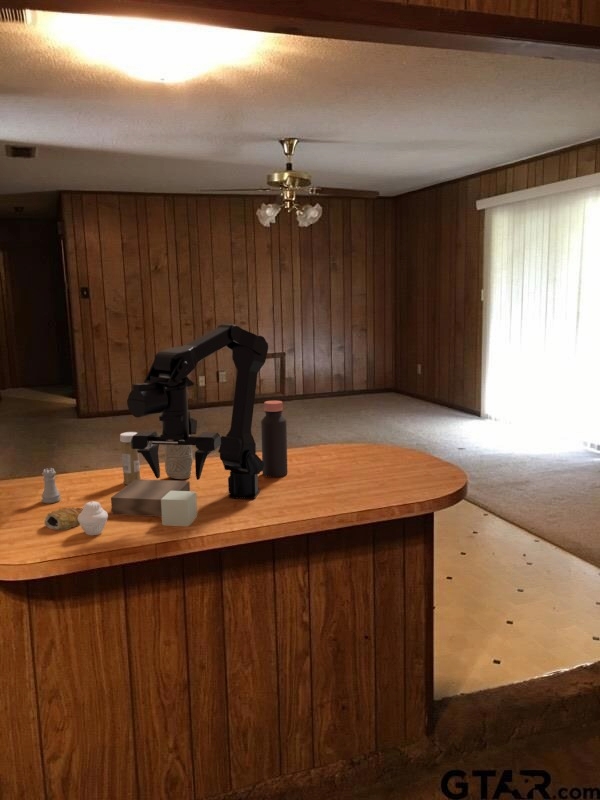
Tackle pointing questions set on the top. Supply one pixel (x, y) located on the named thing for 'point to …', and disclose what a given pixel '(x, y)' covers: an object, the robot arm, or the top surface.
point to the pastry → (63, 518)
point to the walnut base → (144, 496)
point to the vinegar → (274, 440)
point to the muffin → (92, 518)
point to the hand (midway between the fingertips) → (178, 478)
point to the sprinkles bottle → (129, 458)
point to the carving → (178, 461)
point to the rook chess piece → (50, 487)
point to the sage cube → (179, 508)
